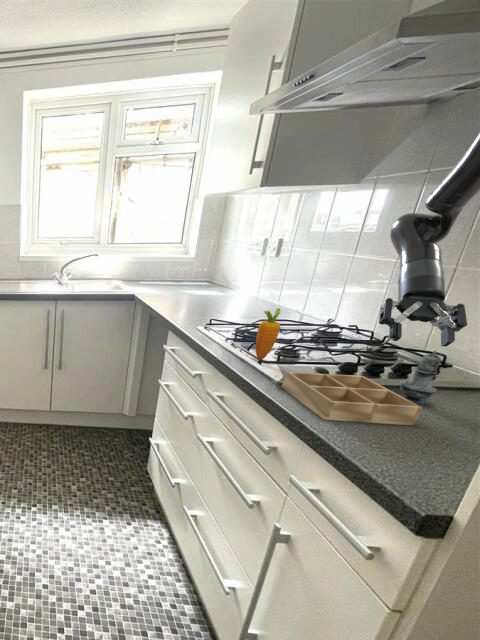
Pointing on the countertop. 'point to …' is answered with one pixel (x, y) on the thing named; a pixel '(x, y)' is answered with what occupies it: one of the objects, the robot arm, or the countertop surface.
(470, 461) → the countertop surface
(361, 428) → the countertop surface
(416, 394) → the grey tall piece
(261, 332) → the carrot
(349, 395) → the wooden compartment tray
